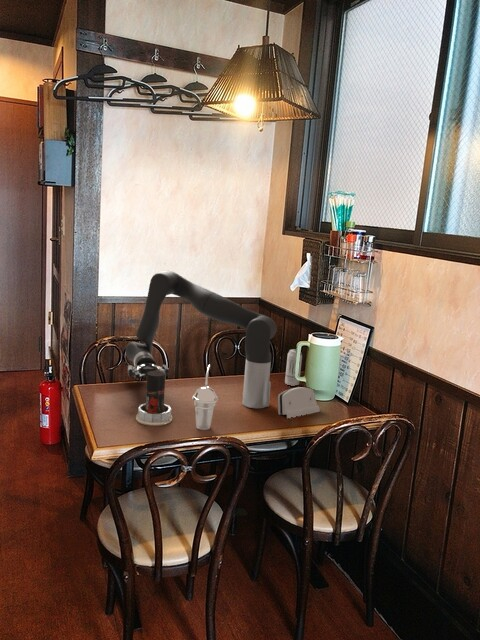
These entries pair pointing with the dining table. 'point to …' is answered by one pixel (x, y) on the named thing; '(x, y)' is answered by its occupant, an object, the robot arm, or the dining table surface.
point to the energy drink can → (292, 368)
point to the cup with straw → (204, 404)
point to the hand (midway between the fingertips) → (151, 376)
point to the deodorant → (155, 392)
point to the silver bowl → (154, 416)
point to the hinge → (297, 402)
